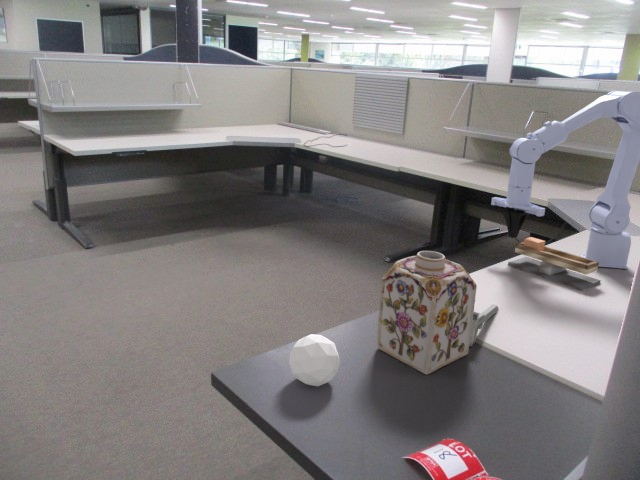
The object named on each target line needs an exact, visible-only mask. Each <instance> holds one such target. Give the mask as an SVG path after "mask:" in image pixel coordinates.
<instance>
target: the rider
mask: <svg viewBox="0 0 640 480" xmlns="http://www.w3.org/2000/svg"><path fill="white" fill-rule="evenodd" d="M523 242H524V246H527V247H530V248H534V249H537V250H540V251H544V246H545V245H546V240H543V239H540V238H536V237H533V236H529V237H526V238H524V239H523Z"/></svg>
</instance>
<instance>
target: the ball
mask: <svg viewBox="0 0 640 480" xmlns="http://www.w3.org/2000/svg"><path fill="white" fill-rule="evenodd" d="M288 363H289V367H290V369H291V370H290V371H291V372H292V375H293V377H294V378H295V379H297V380H298V381H300V382H302V383H304V384H305V385H307V386H313V387H320V386H323V385H325V384H327V383H329V382H331V381H332V379H333V378H334V377H335V375H336V374H337V373H338V371H339V370H340V356H339V352H338V349H337V346H336V344H335V342H333V340H331V339H329V338H327V337H325V336H323V335H322V334H315V333H310V334H309V335H306V336H304V337H302V338H300V339H298V340H297V341H296V343H295V344H294V345H293V347H292V348H291V350H290V353H289V359H288Z"/></svg>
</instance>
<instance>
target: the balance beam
mask: <svg viewBox="0 0 640 480" xmlns="http://www.w3.org/2000/svg"><path fill="white" fill-rule="evenodd" d="M514 253H516V254H520V255H523V256H524V257H522V258H518V259H515V260H511V261H507V266H510V267H513V268H516V269H518V270H522V271H525V272H528V273H531V274H534V275H535V276H539V277H542V278H545V279H548V280H551V281H554V282H557V283H560V284H563V285H566V286H568V287H571V288H573V289H574V288H575V289H576V290H581V291H583V290H587V289H589V288H592V287H594V286H597V285H600V284H601V281H602V280H600V279H597V278H594V277H591V276H588V275H589V274H592V273H595V272H598V270H599V267H598V265H599V262H598V261H594V260H591V259H587V258H584V257H581V256H580V255H576V254H573V253H569V252H566V251H562V250H560V249H556V248H553V247H549V246H547V245H546V246H544V251H540V250H537V249H534V248H530V247H527V246H524V241H522V242H519V243H516V244H515V249H514Z"/></svg>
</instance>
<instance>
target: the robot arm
mask: <svg viewBox="0 0 640 480" xmlns="http://www.w3.org/2000/svg"><path fill="white" fill-rule="evenodd" d="M599 118H611V119H613V120H614V121H615V122H616V123H617V124H618V126H619V127H620V128H621V131H622V136H621V138H620V141H619V145H618V148H617V150H616V154H615V157H614V159H613V164H612V166H611V169H610V172H609V176H608V179H607V182H606V185H605V187H604V191H603V192H602V193H601V194H599V195H597V198H596V201H595V202H594V204H593V205H592V206H591V207H590V208H589V211H588V214H587V215H588V219H589V221H590V222H591V224H590V231H589V236H588V242H587V248H586V253H585V255H583V254H580V255H579V256H581V257H584V258H587V259H591V260H594V261H598V262H599V265H598V268H610V269H611V268H613V269H625V270H627V269H628V266H627V264H628V260H629V256H630V250H631V246H632V245H631V244H632V238H631V235H630V233H629V232H627V231H625V230H627V228H628V227H629V225H630V221H631V220H630V219H631V218H630V210H631V209H632V206H631V205H630V202H629V199H628V196H629V193H630V190H631V187H632V184H633V182H634V179H635V178H634V177H635V174H636V172H637V169H638V166H639V163H640V92H639V91H621V90H612V91H609V92H607V94H605V95H602V96H599V97H598V98H596V99H595V100H594V101H592V102H590V103H589V104H587V105H586V106H585V107H583V108H581V109H580V110H578V111H577V112H575V113H574V114H572V115H570V116H569V117H567V118H565V119H563V120H562V121H558V120H553V121H549V120H548V121H546V122H544V123H543V125H544V126H542V127H541V128H539V129H537V130H535V131H534V132H528V133H526V137H520V138H517V139H515V140H514V141H513V143H512V144H511V146H510V148H509V155H510V157H511V163H510V164H511V165H510V170H509V176H508V184H507V185H508V186H507V192H506V198H504V197H498V196H494V197H491V203H490V205H491V206H497V207H503V208H505V209H503V210H502V215H503V217H504V220H505V224H506V227H507V234H508V235H507V236H508V238H511V239H514V238H518V235H519V233H520V231H521V229H522V226H523V225H524V223H525V222H526V221H527V219H528V218H529V217H530V214H531V215H535V216H536V217H544V216H545V212H546V208H545V207H542V206H539V205H536V204H533V203H531V195H532V190H533V182H534V175H535V169H536V168H535V167H536V162H537V161H538V160H539V159H540V158H541V156H542V154H545V153H546V152H549V150H551V149H553V148H555V147H556V146H559V145H560V144H562V143H563V142H566V141H567V139H568V137H569V134H570V133H572V132H574V131H575V130H577V129H580V128H582V127H584V126H586V125H588V124H590V123H591V122H594V121H596V120H598V119H599Z"/></svg>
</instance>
